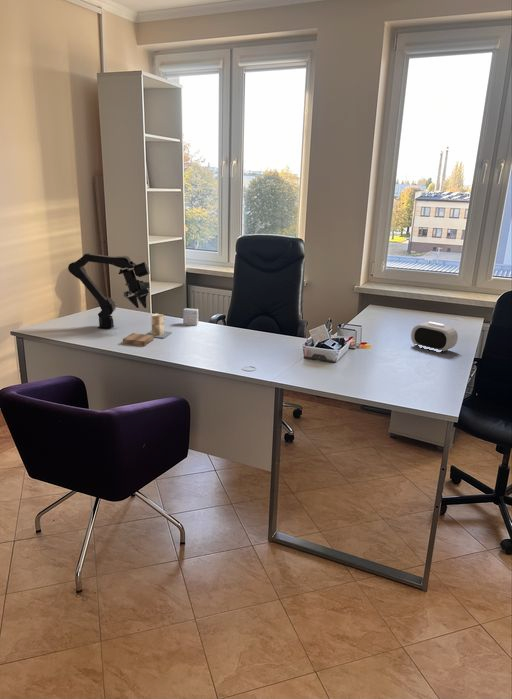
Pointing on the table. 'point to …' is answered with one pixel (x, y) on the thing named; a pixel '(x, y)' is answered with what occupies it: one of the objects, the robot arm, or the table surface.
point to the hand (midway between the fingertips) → (141, 307)
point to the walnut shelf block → (138, 339)
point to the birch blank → (157, 324)
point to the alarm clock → (434, 336)
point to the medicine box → (190, 316)
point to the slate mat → (159, 335)
